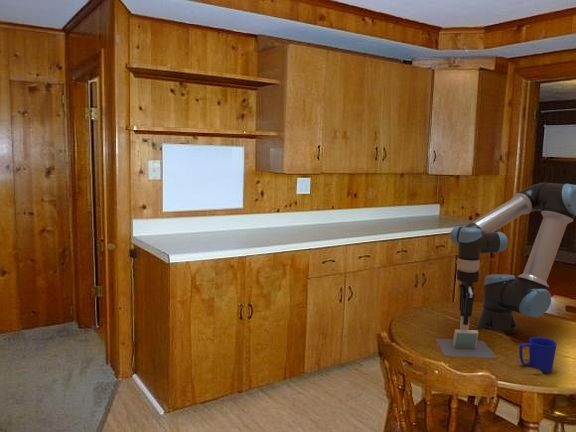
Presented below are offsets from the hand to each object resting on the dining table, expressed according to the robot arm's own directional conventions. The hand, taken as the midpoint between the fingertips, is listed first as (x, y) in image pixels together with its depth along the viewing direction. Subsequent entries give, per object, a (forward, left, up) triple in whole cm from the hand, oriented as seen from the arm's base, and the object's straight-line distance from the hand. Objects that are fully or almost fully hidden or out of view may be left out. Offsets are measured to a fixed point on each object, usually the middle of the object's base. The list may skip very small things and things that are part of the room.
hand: (464, 332), depth 179 cm
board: (0, +1, -7) cm, 7 cm away
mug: (-20, +14, -7) cm, 26 cm away
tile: (0, 0, -5) cm, 5 cm away
